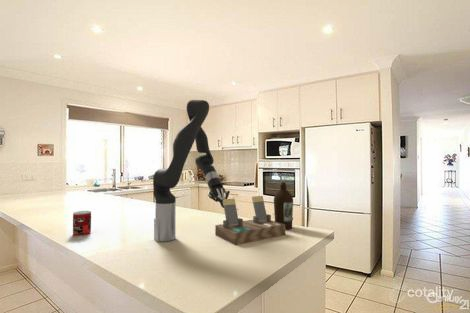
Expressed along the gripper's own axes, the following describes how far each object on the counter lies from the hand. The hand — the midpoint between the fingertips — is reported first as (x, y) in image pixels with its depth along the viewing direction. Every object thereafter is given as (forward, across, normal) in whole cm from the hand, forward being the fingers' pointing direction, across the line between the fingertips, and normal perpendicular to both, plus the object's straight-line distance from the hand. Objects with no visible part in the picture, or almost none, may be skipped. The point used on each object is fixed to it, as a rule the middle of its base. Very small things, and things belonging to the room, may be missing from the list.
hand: (225, 206), depth 135 cm
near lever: (+11, 0, 0) cm, 11 cm away
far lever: (+11, +18, 0) cm, 21 cm away
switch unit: (+16, +9, +2) cm, 19 cm away
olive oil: (+15, +33, +4) cm, 37 cm away
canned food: (-18, -62, +37) cm, 74 cm away
